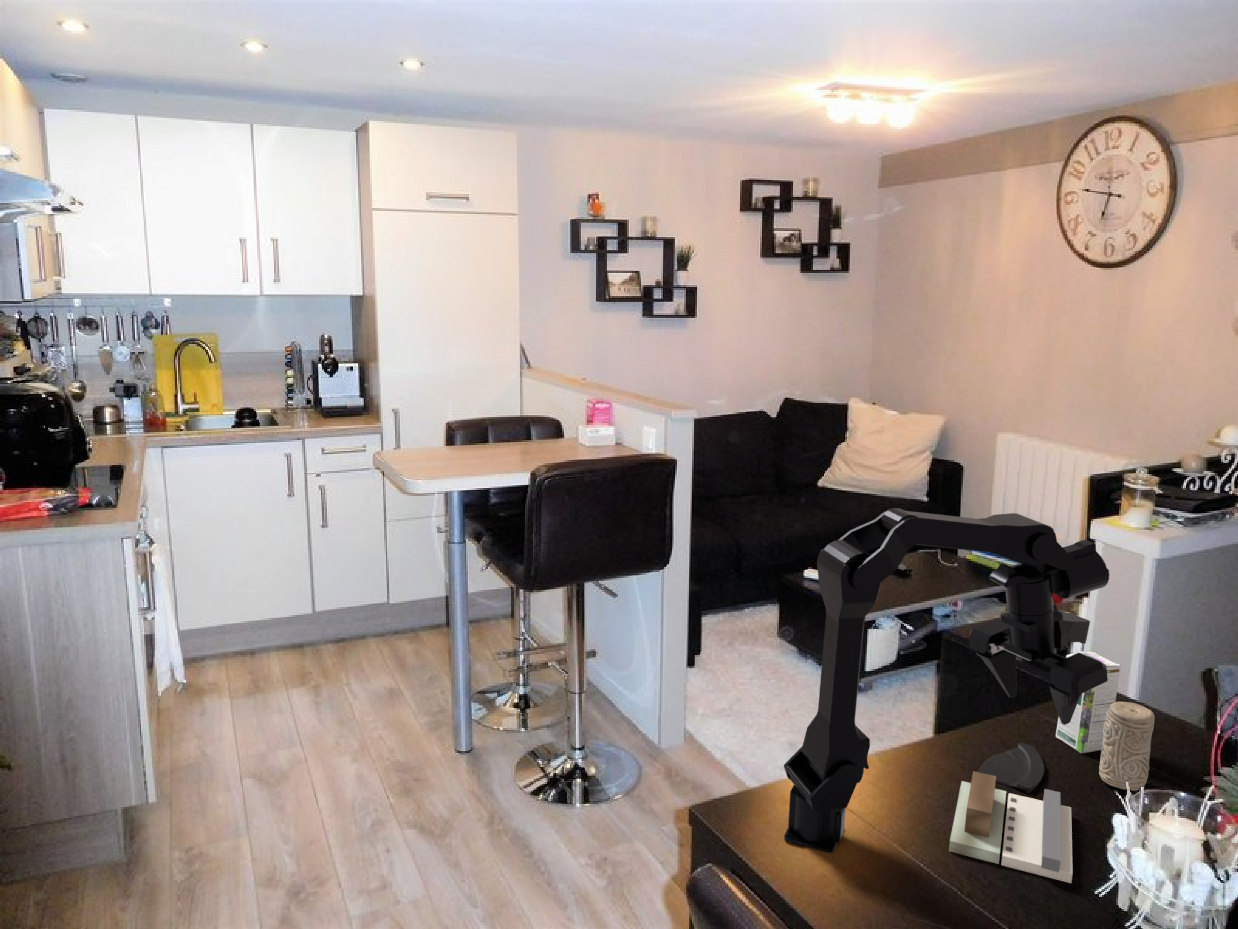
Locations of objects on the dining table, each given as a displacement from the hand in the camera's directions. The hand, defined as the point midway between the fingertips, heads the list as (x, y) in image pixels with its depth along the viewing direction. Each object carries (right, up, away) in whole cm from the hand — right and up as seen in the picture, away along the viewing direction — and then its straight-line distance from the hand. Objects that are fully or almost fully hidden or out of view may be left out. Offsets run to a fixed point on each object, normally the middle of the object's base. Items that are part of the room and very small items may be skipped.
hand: (1038, 709), depth 127 cm
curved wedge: (+2, -13, +12) cm, 18 cm away
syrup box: (+16, -11, +21) cm, 29 cm away
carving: (+16, -13, +9) cm, 23 cm away
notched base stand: (-3, -16, -5) cm, 17 cm away
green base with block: (-9, -15, -2) cm, 18 cm away
